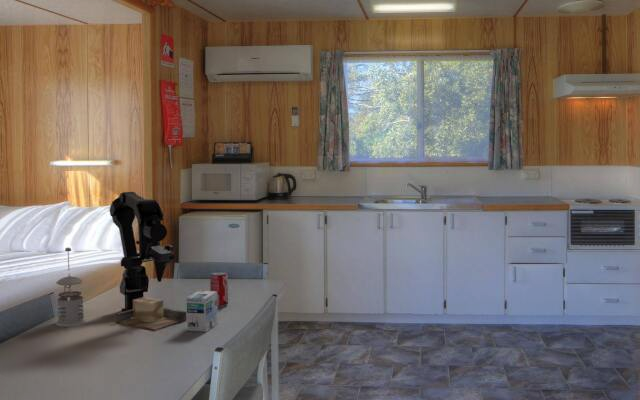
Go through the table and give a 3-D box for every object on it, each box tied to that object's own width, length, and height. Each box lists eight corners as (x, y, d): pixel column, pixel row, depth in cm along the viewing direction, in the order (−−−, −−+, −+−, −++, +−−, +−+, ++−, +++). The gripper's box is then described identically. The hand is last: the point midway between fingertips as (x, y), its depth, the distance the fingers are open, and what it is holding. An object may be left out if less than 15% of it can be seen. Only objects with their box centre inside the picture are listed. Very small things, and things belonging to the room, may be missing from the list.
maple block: (152, 321, 222) (151, 303, 222) (133, 317, 227) (132, 300, 227) (163, 318, 227) (163, 300, 226) (144, 314, 231) (144, 296, 231)
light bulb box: (206, 332, 212) (206, 298, 211) (186, 331, 213) (185, 297, 212) (218, 323, 222) (217, 290, 221) (199, 322, 224) (198, 290, 223)
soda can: (207, 307, 244) (206, 273, 243) (216, 303, 250) (215, 270, 249) (222, 308, 241) (221, 275, 240) (231, 304, 247) (230, 271, 246)
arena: (116, 322, 224) (115, 313, 224) (148, 313, 236) (148, 304, 235) (155, 330, 214) (154, 321, 214) (186, 320, 226) (186, 311, 226)
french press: (57, 328, 218) (53, 250, 216) (52, 319, 228) (49, 245, 226) (89, 324, 223) (86, 248, 220) (83, 315, 233) (80, 243, 231)
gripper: (142, 243, 213) (144, 292, 214) (185, 235, 228) (186, 281, 230) (118, 240, 219) (120, 288, 220) (161, 233, 235) (163, 278, 236)
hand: (149, 284), depth 227 cm, fingers open, 9 cm apart
